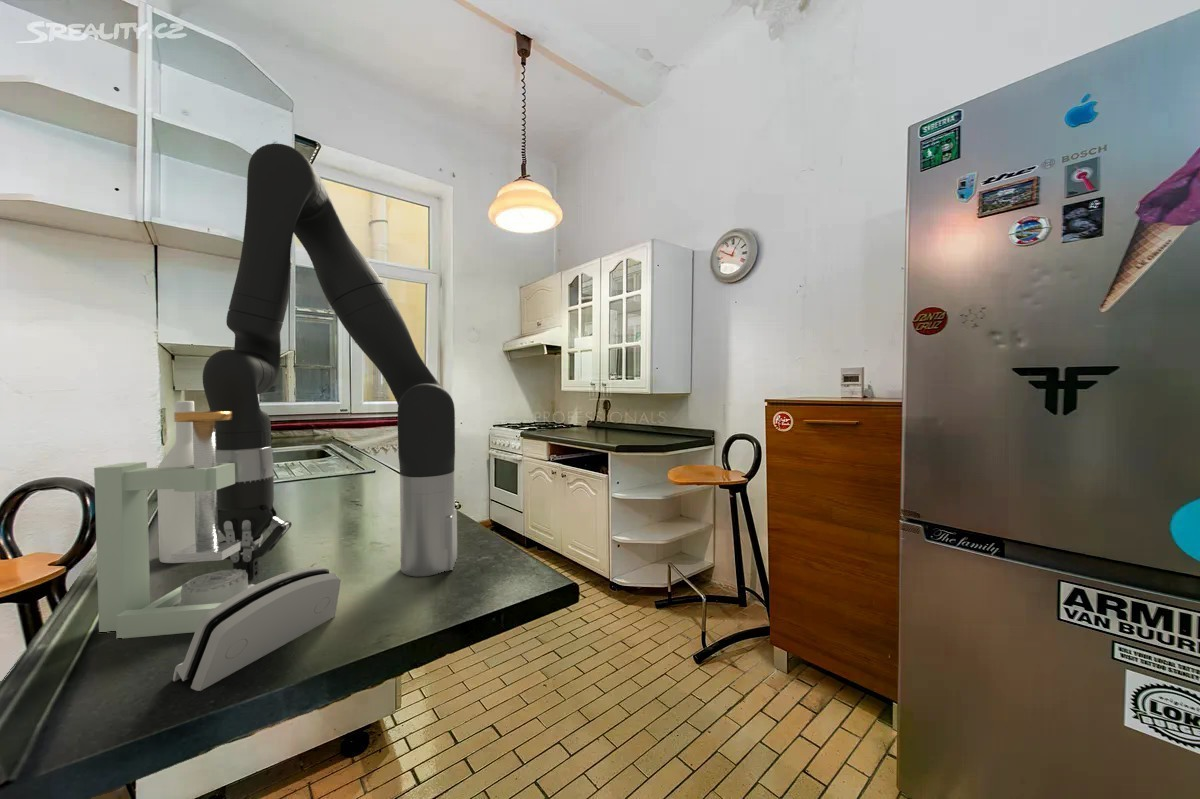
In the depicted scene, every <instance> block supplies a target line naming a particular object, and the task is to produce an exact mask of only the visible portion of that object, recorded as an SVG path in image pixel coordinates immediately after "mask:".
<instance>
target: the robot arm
mask: <svg viewBox="0 0 1200 799" xmlns="http://www.w3.org/2000/svg"><path fill="white" fill-rule="evenodd" d="M246 179H247V180H246V207H245V208H246V209H245V219H244V229H243V230H244V231H243V239H242V240H243V241H242V245H241V246H242V248H241V253H240V258H239V259H240V260H239V264H238V268H237V269H238V270H237V273H236V278H235V281H234V285H233V289H232V294H231V298H230V301H229V307H228V310H227V314H226V326H227V328H228V329H229V330H230V331H232V332H233V333H234V347H233V349H222V350H219V351H216V352H215V353H213V354H212V355H210V357H208V359H206V362H205V364H204V367H203V370H202V385H203V390H204V395H205V397H206V401H207V404H208V408H209V411H232V420H224V421H216V456H217V463H235V484H233V485H230V486H227V487H224V488H221V489H218V490H217V500H218V543H223V542H240V550H239V551H237V552H235V553H234V554H232V555H230V556H228V557H227V558H225V559H226V560H229V561H231V562H232V570H233V569H237V570H238V569H242V570H246V573H247V574H248V584H252V582H254V581H255V579H256V578H258V576H259V574H260V573H259V571H260V570H259V558H261V557H264V556H265V555H266V554H268V553H269V552H271V551H272V550H273V549H274V548H275V546H276V545H277V544H278V543H279V541H280V540H281V539H282V538H283V537H284V535H285V534H286V533H287V532H288V531H289V530H290V528H291V527H292V522H291V521H289V520H286V521H283V520H282V519H280V518H279V517H277V511H276V509H275V508H274V501H275V491H274V490H275V489H274V487H275V485H274V484H275V481H274V479H275V478H274V476H275V475H274V455H273V452H272V451H273V450H272V425H271V423H272V422H271V418H270V416H269V414H268V413H266V411H263V410H262V409H261V406H260V401H259V397H258V396H259V395H260V394H263V393H266V392H268V391H269V390H270V389H272V387H273V386H274V385H275V383H276V381H277V379H278V376H279V373H280V368H281V353H282V352H281V350H282V349H281V347H282V345H281V344H282V342H281V331H282V328H283V325H284V320H285V316H286V312H287V308H288V304H289V299H290V293H291V292H290V291H291V280H292V279H291V278H292V277H291V270H292V269H291V264H292V262H291V257H292V256H291V255H292V254H291V253H292V243H293V236H294V235H295V237H296V238H297V240H298V241H299V242H300V243H301V245H302V247H303V248H304V250H305V251H306V253H307V255H308V257H309V259H310V261H311V263H312V267H313V269H314V272H315V275H316V277H317V279H318V283H319V286H320V287H321V290H322V292H323V294H324V296H325V298H326V300H327V302H328V304H329V306H330V307H331V308H332V310H333V311H334V313H335V315H336V316H337V318H338V319H339V321H340V323H341V325H342V326H343V328H345V330H346V332H347V333H348V334H349V336H350V337H351V339H352V340H353V341H354V343H356V345H357V346H358V347H359V348H360V350H361V351H362V352H363V353H364V354H365V355H366V356H367V358H368V359H369V360H370V361H371V362H372V363H373V365H375V367H376V368H377V369H378V371H379V373H380V374H381V375H382V376H383V378H384V379H385V382H386V384H387V386H388V387H389V389H390V391H391V393H392V395H393V397H394V399H395V401H396V403H397V446H398V449H397V453H398V464H399V512H400V515H399V519H400V520H399V523H400V525H399V526H400V527H399V528H400V529H399V530H400V531H399V532H400V571H401V573H402V574H403V575H406V576H410V577H429V576H434V575H438V573H439V574H442V573H444V571H445V572H448V571H449V570H452V571H454V568H453V567H455V566H456V563H455V562H457V560H458V510H457V508H456V507H455V506H456V503H455V500H456V499H455V498H456V496H455V494H456V492H455V491H456V490H455V489H456V488H455V484H456V483H455V476H456V475H455V459H456V414H455V413H456V412H455V410H456V409H455V403H454V400H453V398H452V396H451V395H450V394H449V392H448V391H447V390H445V388H443V386H442V385H441V384H440V382H438V380H437V379H436V377H435V376H434V375H433V374H432V371H431V370H430V369H429V368H428V366H427V365H426V364H425V362H424V360H423V359H422V357H421V356H420V354H419V352H418V350H417V348H416V346H415V344H414V341H413V339H412V336H411V334H410V332H409V329H408V326H407V325H406V323H405V320H404V319H403V317H402V314H401V311H400V310H399V308H398V306H397V304H396V303H395V301H394V300H393V298H392V295H391V294H390V292H389V291H388V289H387V287H386V286H385V284H384V283H383V281H382V279H381V278H380V276H379V275H378V273H377V272H376V270H375V269H374V268H373V266H372V264H371V263H370V262H369V260H368V259H367V258H366V257H365V255H364V254H363V253H362V252H361V251H360V249H359V248H358V247H357V246H356V244H355V243H354V241H353V240H352V239H351V237H350V235H349V234H348V231H346V228H345V226H344V225H343V224H344V223H343V222H342V220H341V219H340V216H339V214H338V213H337V212H338V211H337V210H336V208H335V206H334V204H333V202H332V198H331V197H330V195H329V192H328V190H327V187H326V184H325V183H324V180H323V179H322V178H321V176H320V175H319V173H318V171H317V170H316V168H315V167H314V166H313V164H312V163H311V162H310V160H309V159H308V158H307V157H306V156H305V155H304V154H303V153H302V152H300V151H299V150H297V149H296V148H294V147H292V146H290V145H287V144H283V143H275V142H274V143H267V144H265V145H262V146H259V148H256V150H255V151H254V153H253V154H251V157H250V159H249V162H248V167H247V178H246ZM269 527H270V528H269ZM268 528H269V533H270V534H269V535H268V536H267V538H266V539H265V540H264V541H263V539H264V533H265V532H266V531H267V530H268ZM225 559H224V560H225ZM456 559H457V560H456ZM441 572H442V573H441ZM449 572H450V571H449Z"/></svg>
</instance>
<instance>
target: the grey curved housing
mask: <svg viewBox="0 0 1200 799" xmlns="http://www.w3.org/2000/svg"><path fill="white" fill-rule="evenodd" d="M340 588H341V579H340V578H339V577H338V575H337V574H336V573H333V572H332V573H330V570H329V569H328V568H326V567H324V566H309V567H303V568H297V569H294V570H290V571H287V572H284V573H281V574H278V575H275V576H272V577H269V578H268V579H266V580H263V581H261V582H258V583H256V584H254V586H252V587H250V588H248V589H246V590H244V591H243V592H241V593H239V594H237V595H235V596H233V597H232V598H230V599H228V600H227V601H225V602H223V603H222V604H220V605H219V606H217V607H216V608H214V609H212V610H211V611H209V612H208V613H206V614H205V615H204V616H203V617H202V618H201V620H200V621H199V623H198V626H197V629H196V631H195V632H194V635H193V637H192V639H191V641H190V643H189V647H188V649H187V653H186V655H185V658H184V659H183V661H182V662H181V663H178V664H177V665H176V666H175V668H174V672H173V675H172V676H173V678H172V681H173V682H176V681H178V680H180V679H181V681H182V682H185V681H186V680H191V679H192V680H191V682H192V683H191V685H190V689H192V690H194V691H197V692H199V691H200V692H201V691H204V689H206V688H208V687H210V686H212V685H214V684H215V683H217V682H220V681H221V680H222V679H225V678H226V677H229V676H230V675H232V674H234V673H235V672H237V671H239V670H241V669H243V668H244V667H246V666H248V665H250V664H252V663H253V662H256V661H258V660H259V659H260V658H262V657H265V656H266V655H268V654H270V653H272V652H273V651H275V650H277V649H279V648H280V647H282V646H284V645H286V644H288V643H289V642H291V641H294V640H296V639H297V638H299V637H301V636H303V635H305V634H306V633H308V632H310V631H312V630H313V629H315V628H317V627H318V626H321V625H322V624H324V623H326V622H328V621H330V620H331V618H332V619H333V618H335V617H336V614H337V613H336V612H337V608H338V601H339V593H340Z"/></svg>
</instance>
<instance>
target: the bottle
mask: <svg viewBox="0 0 1200 799" xmlns="http://www.w3.org/2000/svg"><path fill="white" fill-rule="evenodd" d="M190 411H195V401H194V400H177V401H175V412H190ZM190 465H194V459H193V422H175V442H174V444H173V446H172V447H171V449H169V451H168V452H167V454H165V456H164V458H162V460H161V461H160V462H159V465H158V466H157V468H163V467H186V466H190ZM156 492H157V520H158V521H157V524H158V526H157V527H158V559H159V562H161V563H163V564H173V563H172V554H174V553H176V552H178V551H180V550H182V549H184V548H186V547H188V546H190V545H193V544H196V542H195V500H194V492H180V491H174V489H158V490H156Z"/></svg>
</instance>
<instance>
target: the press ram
mask: <svg viewBox="0 0 1200 799" xmlns="http://www.w3.org/2000/svg"><path fill="white" fill-rule="evenodd" d="M173 418H174V420H173V421H174V422H175V423H176V422H193V459H194V468H211V467H215V466H217V456H216V421H224V420H232V411H210V410H196V411H190V412H176V411H175V412H174V413H173ZM194 500H195V542H196V544H193V545H190V546H188V547H186V548H184V549H182V550H180V551H178V552H176V553H174V554H172V563H171V564H183V563H184V564H185V563H196V562H197V563H198V562H212V561H223V560H225V558H227V557H228V556H230V555H232V554H234V553H235V552H237V551H239V550H240V542H223V543H218V500H217V490H207V491H194Z"/></svg>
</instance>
